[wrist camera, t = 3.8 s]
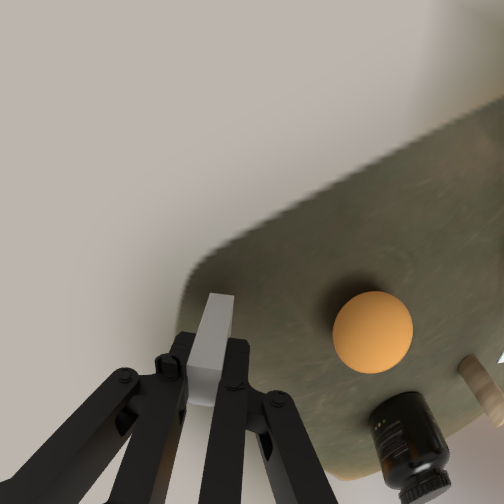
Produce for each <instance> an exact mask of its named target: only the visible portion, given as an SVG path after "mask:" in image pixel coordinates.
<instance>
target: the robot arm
mask: <svg viewBox="0 0 504 504" xmlns="http://www.w3.org/2000/svg"><path fill="white" fill-rule="evenodd" d="M233 305H234V296H232V295H224V294H217V293H210V295H209V298H208V301H207V304H206V307H205V310H204V313H203V316H202V319H201V322H200V325H199V328H198V331H197V334H195V333H189V332H180V333H179V334H178V335H177V336H176V337H175V339H174V342H173V344H172V347H171V349H170V351H169V353H166V354H161V355H160V356H158V357H157V358H156V359H155V367H156V373H155V374H152V375H138V373H137V372H136V371H135V370H134V369H131V368H119V369H117V370H116V371H114V372H113V373H112V374H111V375H110V376H109V377H108V378H107V379H106V380H105V381H104V382H103V383H102V384H101V385H100V386H99V387H98V388H97V389H96V390H95V391H94V392H93V393H92V394H91V395H90V396H89V397H88V398H87V399H86V400H85V402H83V404H82V405H81V406H80V407H79V408H78V409H77V410H76V411H75V412H74V413H73V414H72V415H71V416H70V417H69V418H68V419H67V420H66V421H65V422H64V423H63V424H62V425H61V426H60V427H59V428H58V429H57V430H56V431H55V432H54V434H53V435H52V436H51V437H50V438H49V439H48V440H47V441H46V442H45V443H44V444H43V445H42V446H41V447H40V448H39V449H38V450H37V451H36V452H35V453H34V454H33V456H32V457H31V458H30V459H29V460H28V461H27V462H26V463H25V464H24V465H23V466H22V467H21V468H20V469H19V470H18V471H17V472H16V474H15V475H14V476H13V477H12V478H10V479H8V480H5V481H3V482H0V504H78V503H79V502H80V501H81V499H82V498H83V497H84V495H85V494H86V493H87V492H88V490H89V489H90V488H91V486H92V485H93V484H94V483H95V481H96V480H97V478H98V477H99V476H100V475H101V474H102V472H103V471H104V470H105V468H106V467H107V466H108V464H109V463H110V462H111V460H112V459H113V458H114V457H115V455H116V454H117V453H118V451H119V450H120V449H121V447H122V446H123V445H124V443H125V442H126V441H127V439H128V438H129V437H130V435H131V434H132V435H131V438H130V441H129V443H128V446H127V449H126V451H125V454H124V457H123V459H122V462H121V465H120V468H119V471H118V473H117V476H116V479H115V482H114V485H113V488H112V491H111V494H110V497H109V499H108V501H107V502H106V503H104V504H165V499H166V495H167V491H168V486H169V482H170V478H171V473H172V469H173V465H174V461H175V456H176V452H177V448H178V444H179V439H180V436H181V432H182V428H183V424H184V420H185V415H186V404H187V400H188V403H191V404H196V405H203V406H210V407H214V412H213V417H212V424H211V429H210V435H209V441H208V447H207V453H206V459H205V465H204V471H203V477H202V483H201V489H200V495H199V502H198V504H241V490H242V476H243V461H244V446H245V430H249V431H252V432H254V433H255V434H256V438H257V441H258V445H259V448H260V452H261V455H262V458H263V462H264V465H265V469H266V472H267V475H268V478H269V482H270V485H271V488H272V491H273V494H274V498H275V501H276V504H338V502H337V500H336V497H335V495H334V493H333V491H332V488H331V486H330V484H329V482H328V480H327V477H326V475H325V473H324V470H323V468H322V466H321V464H320V461H319V459H318V457H317V455H316V452H315V450H314V448H313V445H312V443H311V441H310V438H309V436H308V434H307V432H306V429H305V427H304V425H303V422H302V420H301V418H300V415H299V413H298V410H297V408H296V406H295V403H294V401H293V399H292V398H291V396H290V395H289V394H287V393H286V392H283V391H279V390H274V391H270V392H268V393H267V394H265V393H262V392H259V391H257V390H255V389H254V388H252V387H251V386H250V384H249V382H248V369H249V353H250V345H249V344H248V342H247V340H244V339H236V338H230V334H231V325H232V315H233Z"/></svg>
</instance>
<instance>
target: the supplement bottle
mask: <svg viewBox="0 0 504 504" xmlns="http://www.w3.org/2000/svg"><path fill="white" fill-rule="evenodd" d="M369 427H370V431H371V434H372V438H373V441H374V445H375V448H376V452H377V455H378V459H379V462H380V466H381V470H382V473H383V477H384V481H385V484H386V485H387V486H388V487H390V488H392V489H396V490H400V491H401V492H400V493H399V494H398V495H399V499H401V504H424V503H426V502H428V501H430V500H432V499H434V498H436V497H437V496H439V495H441V494H442V493H444V492H445V491H447V490H448V489H449V488H450V487H451V481H450V479H449V476H448V472H447V470H444V469H443V468H444V467H445V466H446V464H447V462H448V460H449V457H450V451H449V448H448V446H447V444H446V441H445V439H444V437H443V435H442V433H441V430H440V428H439V426H438V424H437V422H436V420H435V418H434V416H433V414H432V412H431V410H430V408H429V406H428V404H427V402H426V400H425V399H424V397H423V396H422V395H420V394H417V393H405V394H401V395H398V396H396V397H394V398H392V399H390V400H388V401H386V402H385V403H383V404H382V405H381V406H380V407H378V408H377V409H376V410H375V412H374V413H373V414H372V416H371V418H370V421H369Z"/></svg>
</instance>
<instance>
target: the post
mask: <svg viewBox="0 0 504 504" xmlns="http://www.w3.org/2000/svg"><path fill="white" fill-rule="evenodd" d="M458 371H459V373H460V374H461V376H462V377H463V379H464V380H465V382H466V383H467V385H468V386H469V388H470V389H471V391H472V392H473V394H474V395H475V397H476V398H477V400H478V402H479V403H480V405H481V406H482V408H483V410H484V411H485V413H486V415H487V416H488V418H489V420H490V421H491V423H492V425H493V426H494V428H497V427H499V426H501V425H502V424H503V423H504V394H503V393H502V391H501V390H500V388H499V387H498V386H497V384H496V383H495V382H494V380H493V379H492V377H491V376H490V375H489V373H488V372H487V371H486V369H485V368H484V367H483V366H482V364H481V363H480V362H479V360H478V359H477V358H476V357H475V355H469V356H467V357H466V358H465V359H464V360H463V361H462V362H461V363H460V365H459V367H458Z"/></svg>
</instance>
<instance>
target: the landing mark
mask: <svg viewBox="0 0 504 504" xmlns="http://www.w3.org/2000/svg"><path fill="white" fill-rule="evenodd" d="M502 362H504V351H503V353H502V354H501V356H500V358H499V359H498V361H497V363H502Z"/></svg>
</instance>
